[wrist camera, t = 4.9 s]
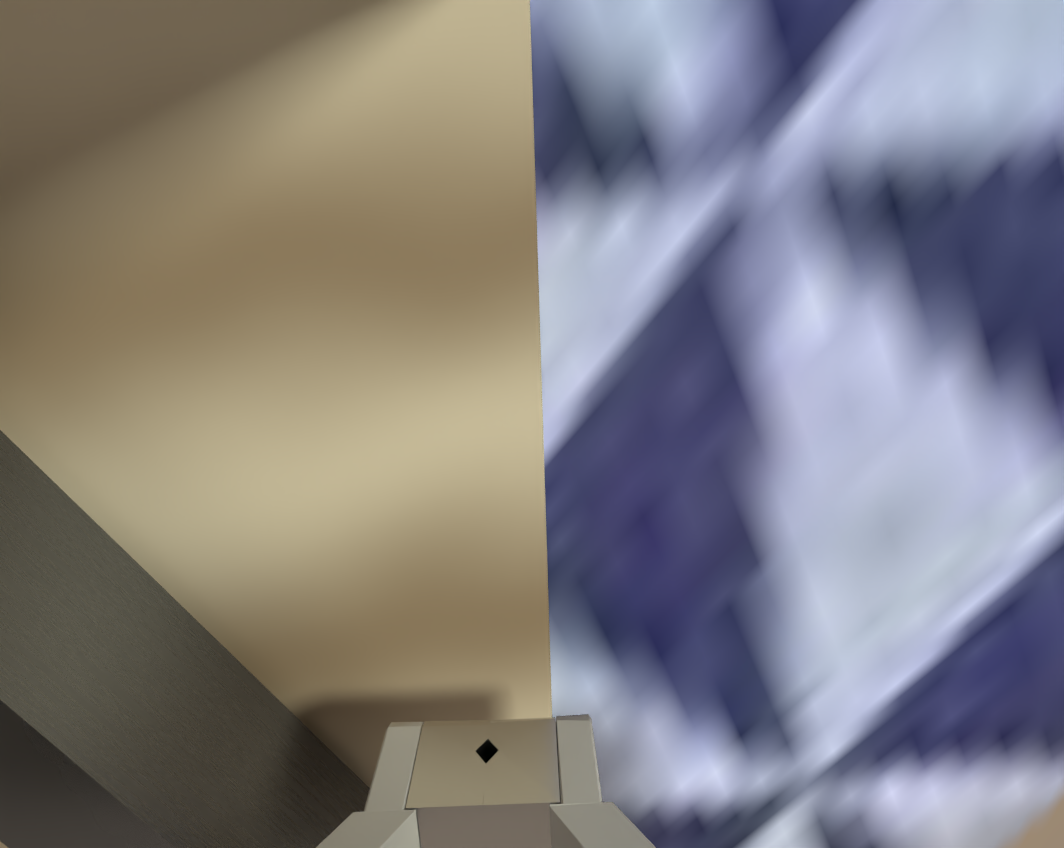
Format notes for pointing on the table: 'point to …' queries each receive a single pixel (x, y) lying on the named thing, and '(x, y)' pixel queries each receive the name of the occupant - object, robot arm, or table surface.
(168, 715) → the tuning needle
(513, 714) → the dial board
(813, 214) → the table surface
